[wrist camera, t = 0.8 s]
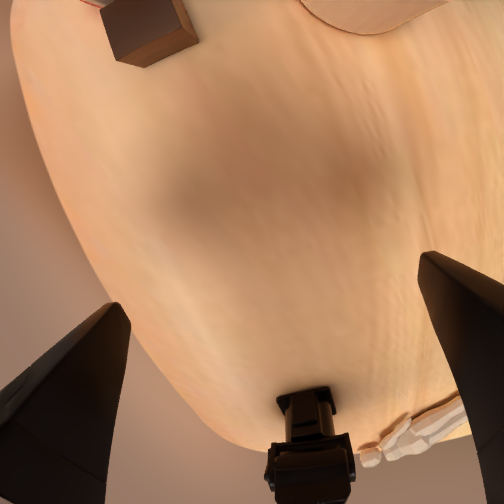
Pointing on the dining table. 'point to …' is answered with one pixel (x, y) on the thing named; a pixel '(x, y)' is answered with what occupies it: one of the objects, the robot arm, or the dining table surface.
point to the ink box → (98, 2)
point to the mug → (369, 13)
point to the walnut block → (147, 29)
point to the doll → (417, 433)
